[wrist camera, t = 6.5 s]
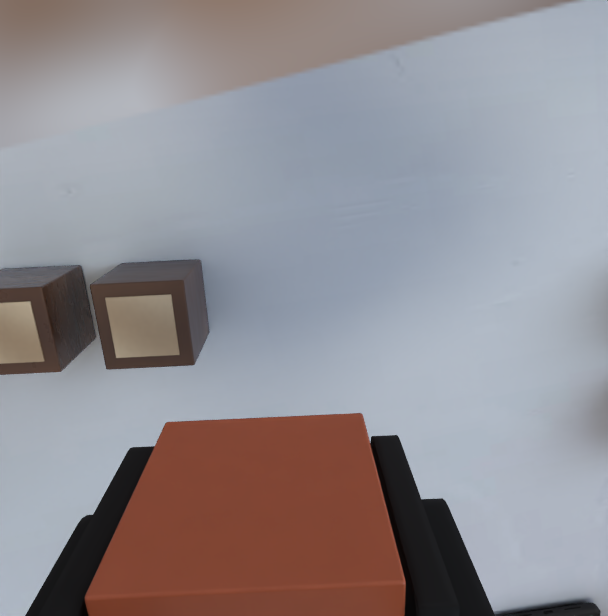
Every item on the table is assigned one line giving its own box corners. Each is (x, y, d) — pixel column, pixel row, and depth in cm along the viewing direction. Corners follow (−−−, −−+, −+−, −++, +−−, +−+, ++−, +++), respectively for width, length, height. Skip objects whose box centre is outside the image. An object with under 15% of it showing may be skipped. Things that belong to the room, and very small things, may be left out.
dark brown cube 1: (121, 262, 24) (88, 285, 20) (201, 259, 24) (183, 280, 20) (134, 336, 25) (105, 370, 21) (209, 332, 25) (194, 366, 21)
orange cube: (165, 421, 10) (80, 603, 6) (362, 411, 10) (408, 587, 6) (188, 573, 11) (131, 806, 7) (362, 564, 11) (400, 791, 7)
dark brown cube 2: (1, 268, 24) (-55, 292, 20) (81, 264, 24) (40, 287, 20) (20, 342, 25) (-29, 377, 21) (96, 338, 25) (60, 373, 21)
